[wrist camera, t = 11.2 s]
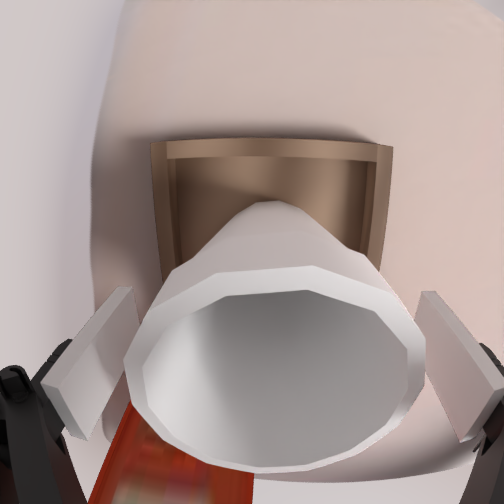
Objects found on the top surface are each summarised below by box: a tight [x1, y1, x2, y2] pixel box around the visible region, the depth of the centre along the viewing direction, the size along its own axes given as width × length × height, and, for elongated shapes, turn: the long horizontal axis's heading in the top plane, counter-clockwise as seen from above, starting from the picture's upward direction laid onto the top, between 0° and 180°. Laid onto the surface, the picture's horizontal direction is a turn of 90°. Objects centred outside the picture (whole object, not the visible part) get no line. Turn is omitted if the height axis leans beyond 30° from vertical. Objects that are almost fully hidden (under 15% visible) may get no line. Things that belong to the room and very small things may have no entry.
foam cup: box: [123, 200, 426, 474], centre depth 15 cm, size 10×9×13 cm
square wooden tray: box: [150, 138, 393, 285], centre depth 20 cm, size 14×14×2 cm
